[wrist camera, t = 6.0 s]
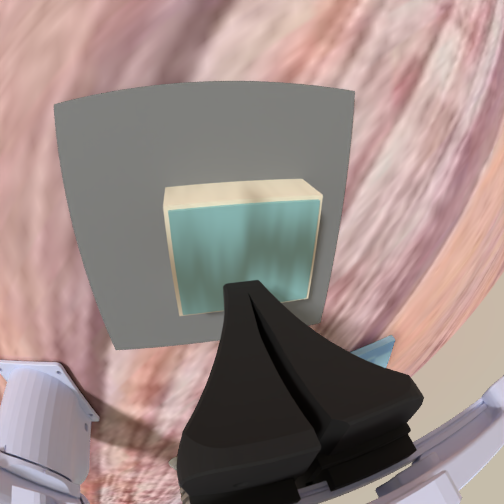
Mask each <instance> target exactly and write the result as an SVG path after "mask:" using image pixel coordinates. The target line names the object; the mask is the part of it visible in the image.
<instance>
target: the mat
mask: <svg viewBox="0 0 504 504" xmlns="http://www.w3.org/2000/svg"><path fill="white" fill-rule="evenodd" d="M354 97H355V91H350V90H344V89H337V88H330V87H322V86H314V85H304V84H293V83H279V82H259V81H209V82H188V83H174V84H163V85H154V86H145V87H138V88H131V89H124V90H118V91H112V92H107V93H101V94H96V95H91V96H87V97H82V98H78V99H73V100H69V101H65V102H61V103H58V104H54V116H55V127H56V137H57V145H58V152H59V159H60V166H61V172H62V178H63V183H64V188H65V193H66V198H67V203H68V208H69V212H70V216H71V220H72V225H73V229H74V232H75V236H76V240H77V244H78V247H79V251H80V254H81V257H82V261H83V264H84V267H85V270H86V274H87V277H88V280H89V283H90V286H91V289H92V291H93V294H94V297H95V300H96V303H97V305H98V308H99V311H100V313H101V316H102V318H103V321H104V323H105V326H106V328H107V331H108V333H109V336H110V338H111V340H112V343H113V345H114V347H115V349H116V350H126V349H141V348H153V347H164V346H175V345H184V344H193V343H202V342H210V341H218V340H220V338H221V333H222V328H223V322H224V311H220V312H212V313H203V314H195V315H186V316H179V311H178V305H177V300H176V294H175V288H174V282H173V276H172V270H171V263H170V257H169V250H168V243H167V235H166V227H165V219H164V211H163V202H164V194H165V187H174V186H184V185H195V184H208V183H221V182H236V181H254V180H277V179H303V180H305V181H306V182H307V183H308V184H310V185H311V186H312V187H313V188H315V189H316V190H317V191H318V192H320V193H321V194H322V195H323V199H322V207H321V215H320V223H319V231H318V238H317V245H316V252H315V259H314V265H313V272H312V278H311V284H310V290H309V296H308V299H302V300H296V301H290V302H283V303H282V304H283V305H284V306H285V307H286V308H287V309H288V310H290V311H291V312H292V313H293V314H294V315H295V316H296V317H297V318H299V319H300V320H301V321H302V322H304V323H305V324H306V325H307V326H308V325H313V324H318V323H320V322H321V317H322V313H323V309H324V304H325V300H326V295H327V290H328V285H329V281H330V276H331V271H332V265H333V260H334V255H335V249H336V244H337V238H338V232H339V226H340V220H341V214H342V207H343V200H344V193H345V186H346V178H347V170H348V162H349V153H350V144H351V134H352V123H353V111H354Z"/></svg>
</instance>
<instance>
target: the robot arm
mask: <svg viewBox="0 0 504 504" xmlns="http://www.w3.org/2000/svg"><path fill="white" fill-rule="evenodd" d="M223 296H224V322H223V328H222V333H221V338H220V343H219V347H218V350H217V354H216V357H215V361H214V364H213V367H212V370H211V373H210V376H209V378H208V381H207V384H206V386H205V388H204V391H203V393H202V395H201V397H200V400H199V402H198V404H197V406H196V408H195V410H194V412H193V414H192V416H191V418H190V419H189V421H188V423H187V425H186V427H185V428H184V430H183V433H182V437H181V441H180V445H179V450H178V455H177V475H178V481H179V485H180V487H181V488H182V489H183V490H184V491H185V492H186V493H187V494H188V495H189V501H190V504H318V503H321V502H324V501H327V500H330V499H333V498H336V497H338V496H341V495H343V494H346V493H349V492H351V491H353V490H356V489H358V488H360V487H363V486H365V485H368V484H370V483H372V482H374V481H376V480H378V479H380V478H382V477H385V476H387V475H389V474H391V473H393V472H395V471H396V470H398V469H400V468H402V467H404V466H406V465H408V464H410V463H411V462H413V463H412V465H411V466H410V467H408V468H407V469H405V470H404V471H402V472H400V473H398V474H397V475H396V476H395V477H393V478H392V479H390V480H389V481H388V482H386V483H384V484H383V485H381V486H379V487H377V488H376V493H377V495H378V496H379V498H378V499H376V500H374V501H371V502H370V503H367V504H460V501H461V499H462V497H461V495H460V493H459V490H460V489H461V488H463V487H464V486H465V485H466V484H467V483H468V482H469V481H470V480H471V479H472V478H473V477H474V476H475V475H476V474H477V473H478V472H479V471H480V470H481V469H482V468H483V467H484V466H485V465H486V464H487V463H488V462H489V461H490V460H491V459H492V458H493V457H494V455H495V454H496V453H497V452H498V451H499V450H500V449H501V448H502V446H503V445H504V375H503V376H502V377H501V378H500V379H499V380H498V381H496V382H495V383H494V384H493V385H492V386H490V387H489V389H488V390H487V391H486V392H485V393H484V394H483V396H482V398H480V399H479V400H477V401H476V402H475V403H473V404H472V405H471V406H469V407H468V408H466V409H465V410H464V411H462V412H461V413H459V414H458V415H457V416H455V417H453V418H452V419H450V420H449V421H448V422H446V423H444V424H443V425H441V426H440V427H438V428H436V429H435V430H433V431H431V432H430V433H428V434H427V435H425V436H423V437H422V438H420V439H418V440H416V441H414V442H412V440H411V439H410V437H409V436H408V433H409V432H410V431H411V430H410V427H409V426H408V424H407V422H408V420H409V419H410V418H411V417H412V416H413V415H414V414H415V413H416V411H417V410H418V409H419V408H420V406H421V405H422V402H423V399H424V397H423V395H422V393H421V392H420V390H419V389H418V387H417V386H416V384H415V383H414V381H413V380H412V379H411V377H410V376H409V375H406V374H403V373H400V372H397V371H393V370H390V369H387V368H384V367H381V366H379V365H376V364H374V363H372V362H369V361H367V360H364V359H362V358H360V357H358V356H356V355H354V354H352V353H350V352H348V351H346V350H344V349H342V348H341V347H339V346H337V345H335V344H334V343H332V342H330V341H329V340H327V339H326V338H324V337H323V336H321V335H320V334H318V333H317V332H315V331H314V330H313V329H311V328H310V327H309V326H307V325H306V324H305V323H304V322H302V321H301V320H300V319H299V318H297V317H296V316H295V315H294V314H293V313H292V312H291V311H290V310H288V309H287V308H286V307H285V306H284V305H283V304H282V303H281V302H280V301H279V300H278V299H277V298H276V297H275V296H274V295H273V294H272V293H271V292H270V291H269V290H268V289H267V288H266V287H265V286H264V285H263V284H262V283H261V282H260V281H259V280H251V281H243V282H235V283H227V284H225V285H224V286H223ZM0 373H1V375H2V376H3V377H4V378H5V380H6V381H7V385H6V388H5V391H4V395H3V399H2V402H1V406H0V504H90V503H89V501H88V500H87V498H86V497H85V496H84V495H83V494H81V493H80V485H81V484H82V483H83V482H84V480H85V479H86V477H87V475H88V472H89V460H90V435H91V421H99V419H100V417H99V416H98V415H97V413H96V412H95V411H94V410H93V408H92V407H91V406H90V404H89V403H88V402H87V400H86V399H85V398H84V396H83V395H82V394H81V392H80V391H79V389H78V388H77V387H76V385H75V384H74V382H73V381H72V379H71V378H70V376H69V375H68V373H67V372H66V370H65V369H64V367H63V366H62V365H61V364H60V363H58V362H33V361H12V360H0Z"/></svg>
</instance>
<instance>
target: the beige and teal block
mask: <svg viewBox="0 0 504 504" xmlns="http://www.w3.org/2000/svg"><path fill="white" fill-rule="evenodd" d="M322 199H323V195H322V194H321V193H320V192H318V191H317V190H316V189H315V188H313V187H312V186H311V185H310V184H308V183H307V182H306V181H305V180H303V179H277V180H254V181H236V182H221V183H208V184H195V185H184V186H174V187H165V194H164V202H163V211H164V219H165V227H166V235H167V243H168V250H169V257H170V263H171V270H172V276H173V282H174V288H175V294H176V300H177V305H178V311H179V316H186V315H195V314H203V313H212V312H220V311H224V296H223V286H224V285H225V284H227V283H235V282H243V281H251V280H259V281H260V282H261V283H262V284H263V285H264V286H265V287H266V288H267V289H268V290H269V291H270V292H271V293H272V294H273V295H274V296H275V297H276V298H277V299H278V300H279V301H280V302H281V303H283V302H290V301H296V300H302V299H308V296H309V290H310V284H311V278H312V272H313V265H314V259H315V252H316V245H317V238H318V231H319V223H320V215H321V207H322Z"/></svg>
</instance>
